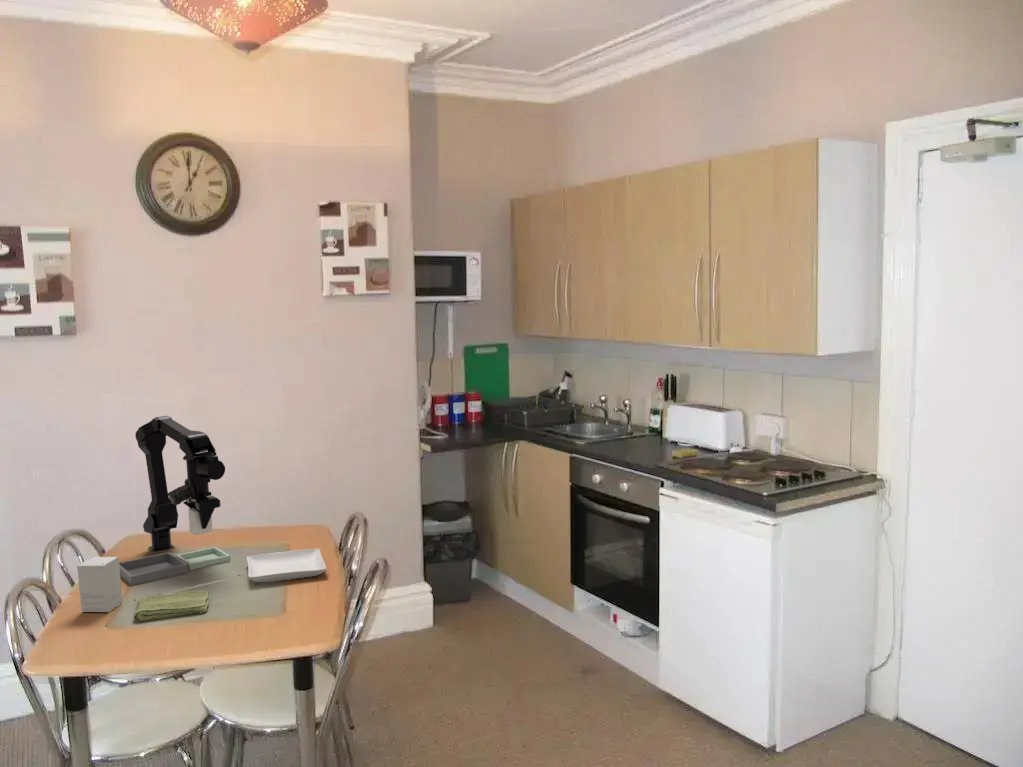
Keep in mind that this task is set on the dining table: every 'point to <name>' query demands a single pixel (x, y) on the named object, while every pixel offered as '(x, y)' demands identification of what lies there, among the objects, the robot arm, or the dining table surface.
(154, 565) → the gray square tray
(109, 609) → the supplement box
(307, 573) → the salad plate
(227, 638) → the dining table surface
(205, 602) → the washcloth
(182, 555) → the holder
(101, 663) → the dining table surface
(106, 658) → the dining table surface
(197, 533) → the block
